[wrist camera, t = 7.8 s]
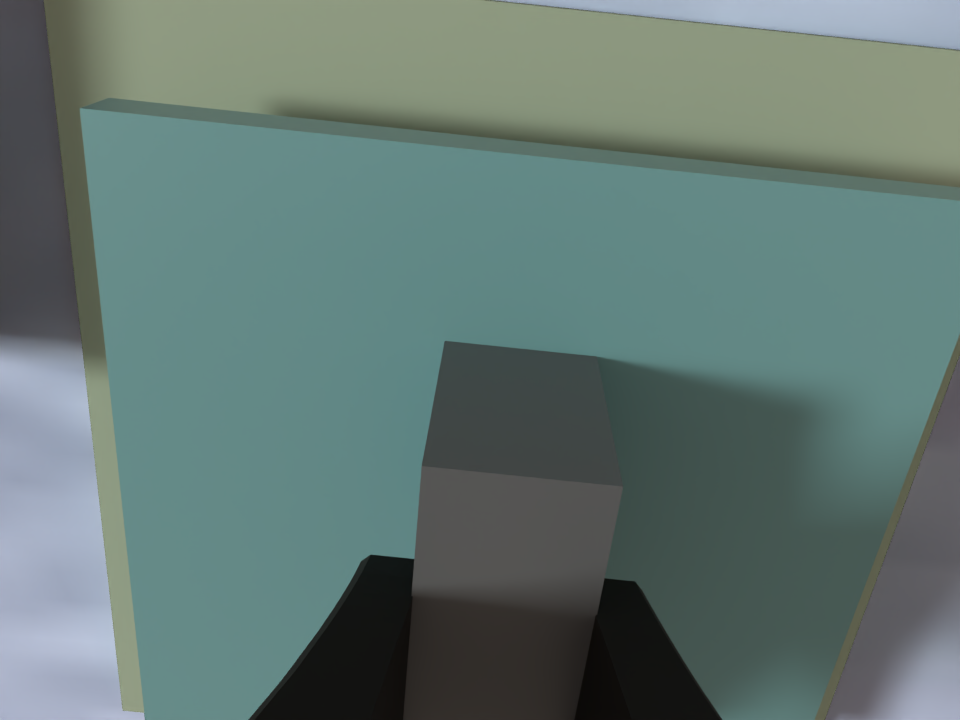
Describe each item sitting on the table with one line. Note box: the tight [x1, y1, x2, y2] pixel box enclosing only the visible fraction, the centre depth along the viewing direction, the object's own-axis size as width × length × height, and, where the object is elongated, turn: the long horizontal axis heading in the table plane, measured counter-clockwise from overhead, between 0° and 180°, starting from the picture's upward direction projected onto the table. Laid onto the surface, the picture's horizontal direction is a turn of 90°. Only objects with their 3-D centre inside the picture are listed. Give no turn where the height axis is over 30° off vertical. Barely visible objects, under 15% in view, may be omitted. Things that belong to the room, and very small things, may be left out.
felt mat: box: [44, 0, 960, 720], centre depth 15 cm, size 14×14×1 cm
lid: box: [80, 98, 960, 720], centre depth 12 cm, size 11×11×5 cm
